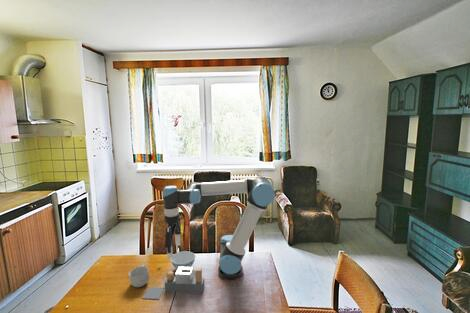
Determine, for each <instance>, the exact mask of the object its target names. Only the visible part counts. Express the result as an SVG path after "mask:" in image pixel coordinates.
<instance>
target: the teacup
mask: <svg viewBox="0 0 470 313" xmlns="http://www.w3.org/2000/svg"><path fill="white" fill-rule="evenodd" d="M149 270H150V269H149V267H147V266H146V264H142V265H140V266H136V267H134V268H132V269H131V270H130V271H129V272H128V278H129V284H130V285H131V286H132V287H134V288H142V287H144V286H145V285H146V284H147V283H148V282H149V280H150V271H149Z"/></svg>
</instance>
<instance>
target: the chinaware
mask: <svg viewBox="0 0 470 313" xmlns="http://www.w3.org/2000/svg"><path fill="white" fill-rule="evenodd" d="M195 259H196V255H195V253H194V252H192V251H190V250H189V251H187V250H183V251H178V252H175V253H173V258H170V261H171V264H172V266H173V267H174V268H175V269H176V270H177V269H178V267H193V264H194V263H195V261H196V260H195Z"/></svg>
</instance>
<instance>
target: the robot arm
mask: <svg viewBox="0 0 470 313" xmlns="http://www.w3.org/2000/svg"><path fill="white" fill-rule="evenodd" d="M234 194H246V195H248V197H247V199H246V202H247V206H245V207H246V208H245V209H244V212H243V213H242V216H241V218H240V220H239V222H238V224H237V226H236V228H235V230H234V232H233V234H225V235H223V236H221V237H220V250H219V259H218V260H219V261H218V264H219V266H218V270H217V273H218V275H219V277H220V278H222V279H225V280H236V279H238V278H240V277H242V275H243V274H244V272H243V271H244V270H243V266H242V261H243V259H244V256H245V254H246V249H245V248H246V246H247V244H248V242H249V239H250V238H251V236H252V234H253V232H254V229H255V228H256V225H257V222H258V221H259V219H260V217H261V215H262V212H263V211H266V210H267V209H268V208H269V205H271V204H273V202H274V200H275V196H276V193H275V188H274V186H273V185H272V184H271V182H270V181H269V180H268V179H267V178H266V177H262V176H253V177H252V176H251V177H245V178H244V179H239V180H238V179H237V180H226V181H224V180H223V181H210V182H195V181H191V182H190V183H188V185H187V186H186V188H185V189H178V186H176V185H166V186H164V188H162V200H163V211H164V222H165V224H166V225H168V226H167V227H166V228H165V238H164V239H165V240H164V241H165V242H164V249H166V255H167V259H171V258H173V255H174V253H173V252H174V251H173V245H172V243H173V239H174V240H175V246H177V247H179V246H181V245H182V244H181V235H182V229H181V225H180V214H179V213H180V211H179V209H180V208H179V205H190V204H191V205H195V204H200V202H201V199H202V198H201V197H202V196H217V195H218V196H220V195H234ZM173 237H174V238H173Z"/></svg>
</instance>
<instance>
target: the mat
mask: <svg viewBox="0 0 470 313" xmlns="http://www.w3.org/2000/svg"><path fill="white" fill-rule="evenodd" d="M164 291H165V287H160V286H158V287H157V286H149V287H148V288H147V289H146V291H145V292H144V294H143V296H141V300H142V299H143V300H159V299H160V298H161V296H162V294H163V292H164Z"/></svg>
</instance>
